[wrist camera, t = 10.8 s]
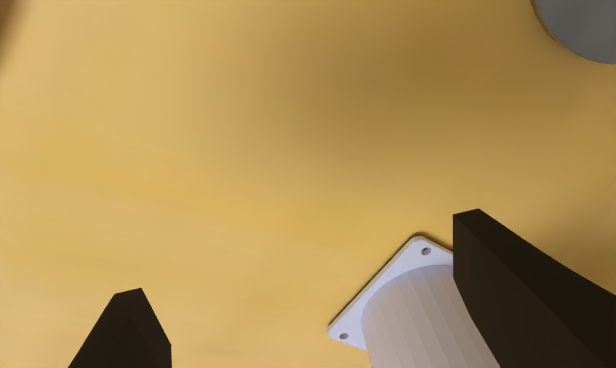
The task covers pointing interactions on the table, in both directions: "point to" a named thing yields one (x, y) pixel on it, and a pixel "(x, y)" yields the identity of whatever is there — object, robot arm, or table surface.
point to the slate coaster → (581, 26)
